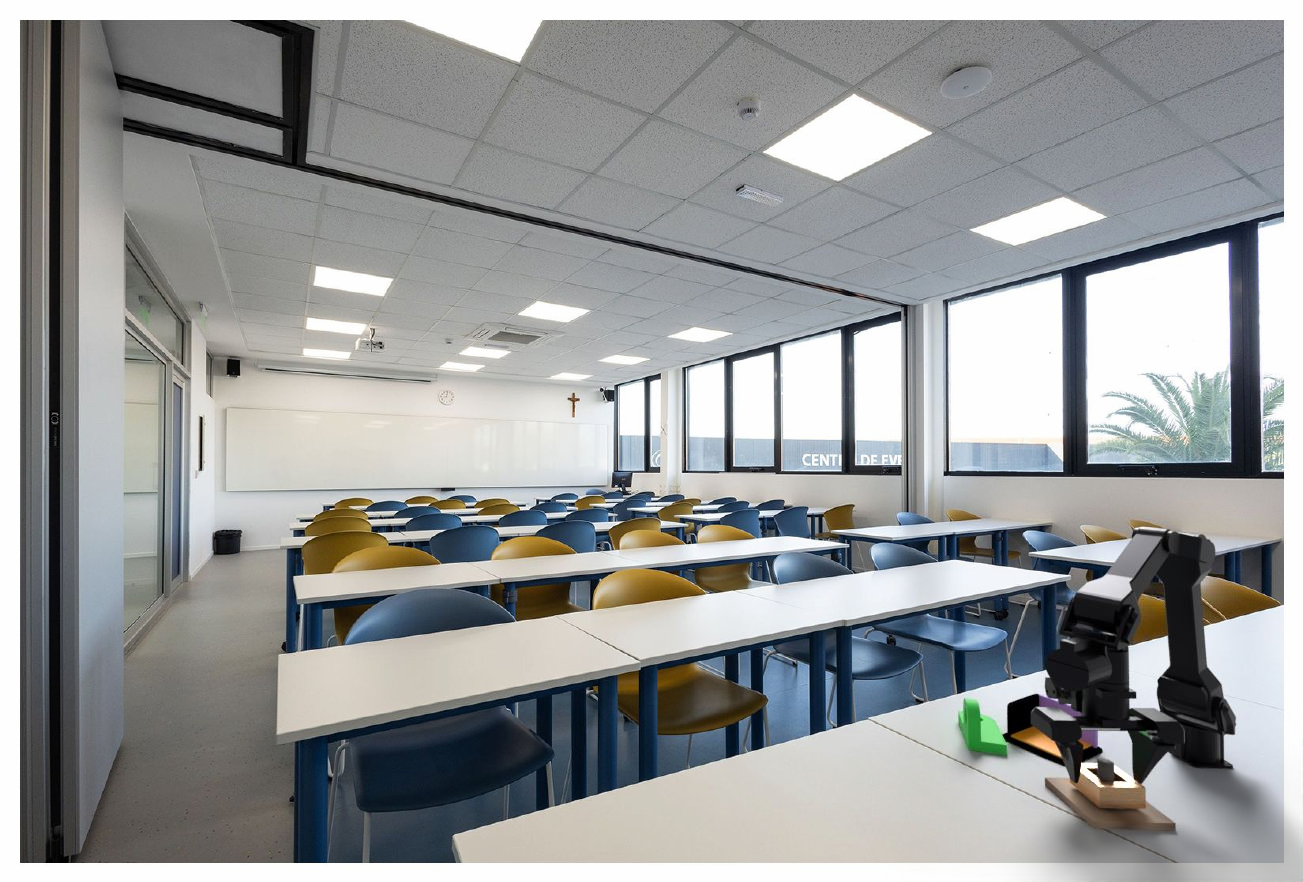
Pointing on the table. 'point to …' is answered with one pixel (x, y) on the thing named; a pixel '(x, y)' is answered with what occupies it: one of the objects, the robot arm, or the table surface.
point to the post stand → (1108, 816)
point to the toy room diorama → (1035, 740)
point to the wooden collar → (1111, 789)
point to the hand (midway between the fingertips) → (1105, 782)
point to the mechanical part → (980, 730)
